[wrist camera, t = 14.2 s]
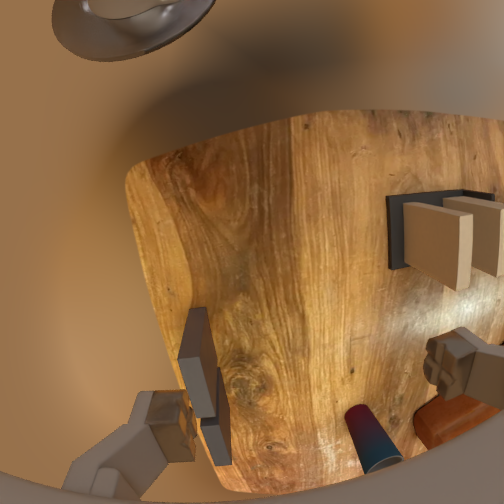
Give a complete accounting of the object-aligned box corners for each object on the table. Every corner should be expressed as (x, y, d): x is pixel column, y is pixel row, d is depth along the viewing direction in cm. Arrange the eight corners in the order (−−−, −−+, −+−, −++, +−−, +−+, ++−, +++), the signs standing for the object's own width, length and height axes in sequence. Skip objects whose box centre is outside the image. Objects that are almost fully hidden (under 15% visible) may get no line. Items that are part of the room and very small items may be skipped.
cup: (377, 399, 51) (410, 452, 36) (365, 424, 52) (393, 476, 38) (346, 401, 50) (375, 459, 36) (335, 426, 52) (359, 483, 37)
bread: (512, 366, 55) (546, 394, 40) (416, 440, 57) (444, 482, 42) (514, 329, 52) (555, 358, 37) (410, 411, 53) (443, 459, 38)
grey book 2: (204, 368, 46) (200, 426, 33) (219, 367, 46) (219, 425, 33) (215, 409, 48) (215, 466, 36) (229, 407, 48) (232, 465, 36)
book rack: (385, 196, 42) (445, 207, 28) (462, 189, 42) (522, 199, 29) (388, 268, 44) (441, 302, 31) (462, 252, 45) (517, 276, 32)
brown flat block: (402, 203, 41) (459, 216, 28) (415, 201, 41) (473, 214, 29) (404, 262, 43) (456, 291, 31) (416, 259, 43) (469, 287, 31)
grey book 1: (189, 309, 43) (177, 359, 31) (205, 306, 43) (199, 356, 31) (202, 361, 46) (196, 418, 33) (217, 359, 46) (216, 416, 33)
